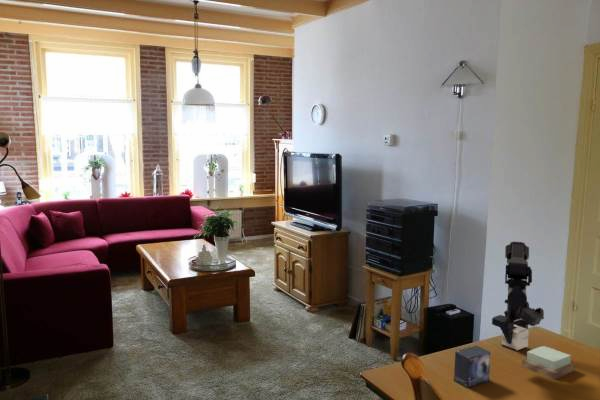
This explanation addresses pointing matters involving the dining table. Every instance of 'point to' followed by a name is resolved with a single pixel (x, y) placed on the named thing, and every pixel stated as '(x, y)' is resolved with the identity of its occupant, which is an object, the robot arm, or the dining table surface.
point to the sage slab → (548, 357)
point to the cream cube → (517, 338)
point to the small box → (472, 366)
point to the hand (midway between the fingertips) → (514, 341)
